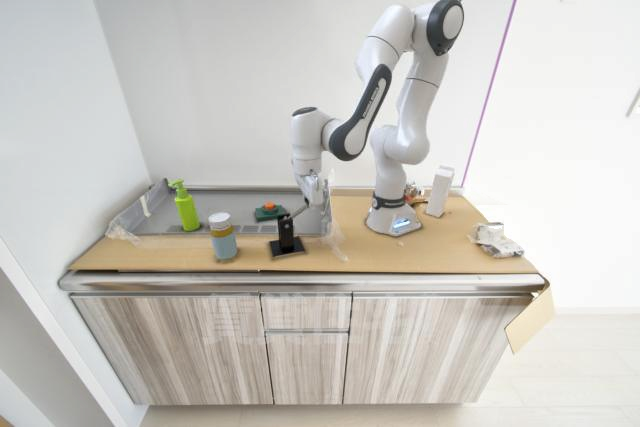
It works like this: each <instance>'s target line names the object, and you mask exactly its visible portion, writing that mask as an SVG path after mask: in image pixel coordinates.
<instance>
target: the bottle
mask: <svg viewBox="0 0 640 427" xmlns="http://www.w3.org/2000/svg"><path fill="white" fill-rule="evenodd" d="M208 222H209V227H210V230H209V232H210V237H211V242H212V246H213V250H214V255H215V258H216V259H218V260H219V261H227V260H232V259H233V258H235V257H236V256H237V255H238V252H239V251H238V250H239V249H238V245H237V244H238V243H237V239H236V233H235V228H234V226H233V225H232V220H231V215H230V214H229V213H228V212H217V213H213V214H212V215H210V216H209V217H208Z"/></svg>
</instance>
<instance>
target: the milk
mask: <svg viewBox="0 0 640 427" xmlns="http://www.w3.org/2000/svg"><path fill="white" fill-rule="evenodd" d="M454 177H455V167H450V166H446V165H438V169H437V170H436V172H435V174H434V177H433V182H432V185H431V189H430V194H429V198H428V203H427V205H426V209H425V214H426V215H429V216H432V217H436V218H440V217H441V216H442V215H443V214H444V210H445V207H446V204H447V201H448V198H449V194H450V190H451V188H452V184H453V181H454Z"/></svg>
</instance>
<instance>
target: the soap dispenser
mask: <svg viewBox="0 0 640 427" xmlns="http://www.w3.org/2000/svg"><path fill="white" fill-rule="evenodd" d="M183 183H185V179H176V180H173V181H171V182H170V183H168V184H167V186H169V187H175V186H176V185H177V186H176V187H177V188H176V189H175V192H176V195H177V196H176V197H175V198H174V202H175V205H176V208H177V211H178V214H179V217H180V221H181V224H182V227H183V230H184V231H186V232H191V231H196V230H198V229H199V228H201V227H200V226H201V225H200V221H199V216H198V213H197V209H196V206H195V202H194V197H193V195H191V194H189V193H188V190H187V187H185V186H184V185H183Z"/></svg>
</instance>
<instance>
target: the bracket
mask: <svg viewBox="0 0 640 427" xmlns="http://www.w3.org/2000/svg"><path fill="white" fill-rule="evenodd" d="M290 215H291V212H285V214H278V215H277V219H276V220H277V233H278V239H275V240H270V241H268V243H269V246H270V251H271V255H272V257H279V256H285V255H289V254H294V253H295V254H296V253H301V252H305V251H306V249H305V247H304V245H303V243H302V241H301V239H300V236H294V235H295V234H294V232H295V231H294V218H293V219H285V220H280V219H282V218H283V217H285V216H287V218H288V217H289V216H290Z"/></svg>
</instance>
